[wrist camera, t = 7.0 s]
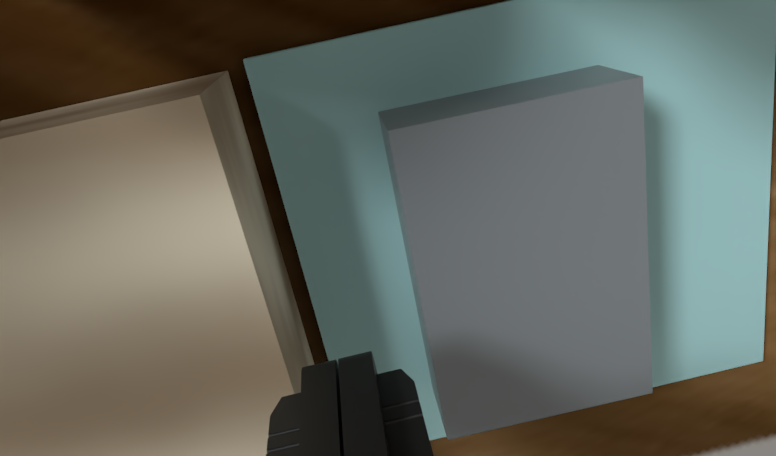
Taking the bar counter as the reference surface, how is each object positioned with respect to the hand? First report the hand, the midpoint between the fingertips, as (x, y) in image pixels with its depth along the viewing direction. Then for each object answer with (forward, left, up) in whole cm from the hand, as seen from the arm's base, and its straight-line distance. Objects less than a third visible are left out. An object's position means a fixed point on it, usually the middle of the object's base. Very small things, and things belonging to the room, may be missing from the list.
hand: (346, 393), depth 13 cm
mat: (0, +6, -6) cm, 8 cm away
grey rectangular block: (0, +5, -4) cm, 6 cm away
